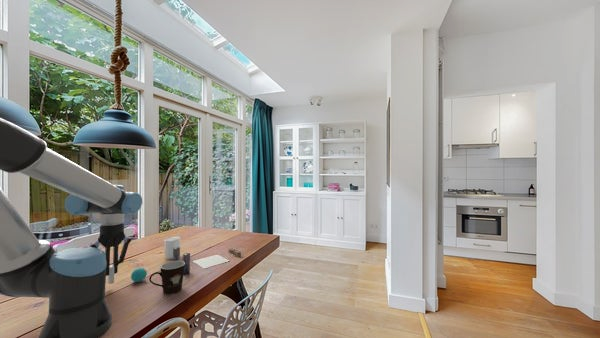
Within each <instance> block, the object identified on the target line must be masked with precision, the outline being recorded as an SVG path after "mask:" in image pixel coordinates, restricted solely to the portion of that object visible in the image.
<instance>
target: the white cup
mask: <svg viewBox="0 0 600 338" xmlns="http://www.w3.org/2000/svg"><path fill="white" fill-rule="evenodd" d="M163 244H164V258H165V259H167V260H173V248H175V247H180V248H181V237H179V236H173V237H167V238H165V239H164V243H163Z"/></svg>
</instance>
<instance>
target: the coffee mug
mask: <svg viewBox="0 0 600 338" xmlns="http://www.w3.org/2000/svg"><path fill="white" fill-rule="evenodd" d="M184 268H185V262H184V261H183V260H180V261H173V260H172V261H168V262H165V263H163V264H161V265H160V268H159V269H160V271H157V272H156V271H155V272H153V273H151V274H150V276H149V277H148V278H149V282H150V284H152V285H154V286H157V287H161V288H162V293H163V294H164V295H173V294H177V293H179V292H181V291H182V290H183V289H182V288H183V281H184V276H185V275H184ZM155 275H159V277H161V283H162V284H160V283H156V282H154V281H152V277H153V276H155Z"/></svg>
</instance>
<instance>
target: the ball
mask: <svg viewBox="0 0 600 338" xmlns="http://www.w3.org/2000/svg"><path fill="white" fill-rule="evenodd" d="M147 274H148V273H147V270H146V269H145V268H143V267H139V268H138V267H137V268H136V269H134V270H133V271H132V273H131V276H130V279H131V281H133V282H134V283H138V282H139V283H140V282H142V281H144V280H145V279H146V277H147Z"/></svg>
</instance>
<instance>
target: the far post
mask: <svg viewBox="0 0 600 338" xmlns="http://www.w3.org/2000/svg"><path fill="white" fill-rule="evenodd" d="M180 258H181V246H180V247H175V248H173V259H172V261H181V259H180Z"/></svg>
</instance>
